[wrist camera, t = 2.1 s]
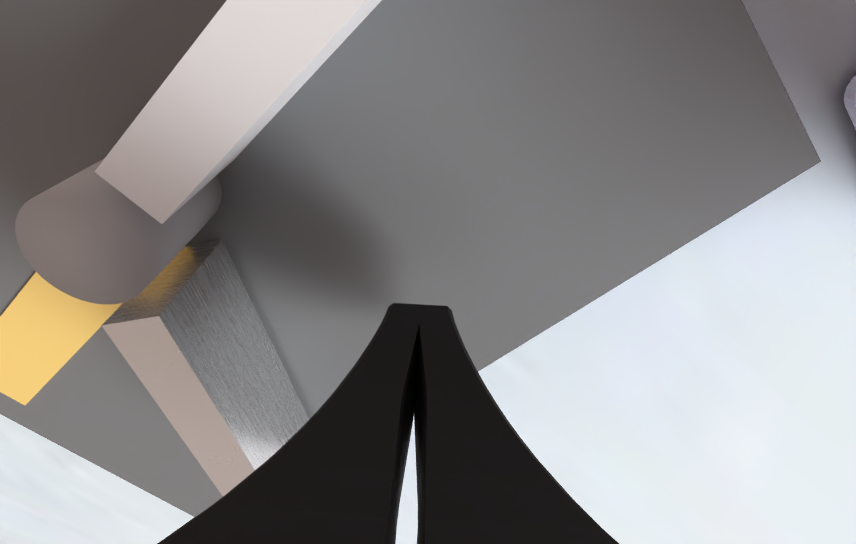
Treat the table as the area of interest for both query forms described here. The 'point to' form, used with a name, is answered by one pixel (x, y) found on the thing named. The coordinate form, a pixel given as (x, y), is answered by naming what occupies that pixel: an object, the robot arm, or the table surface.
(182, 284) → the hinge leaf
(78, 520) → the table surface
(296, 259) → the mat
